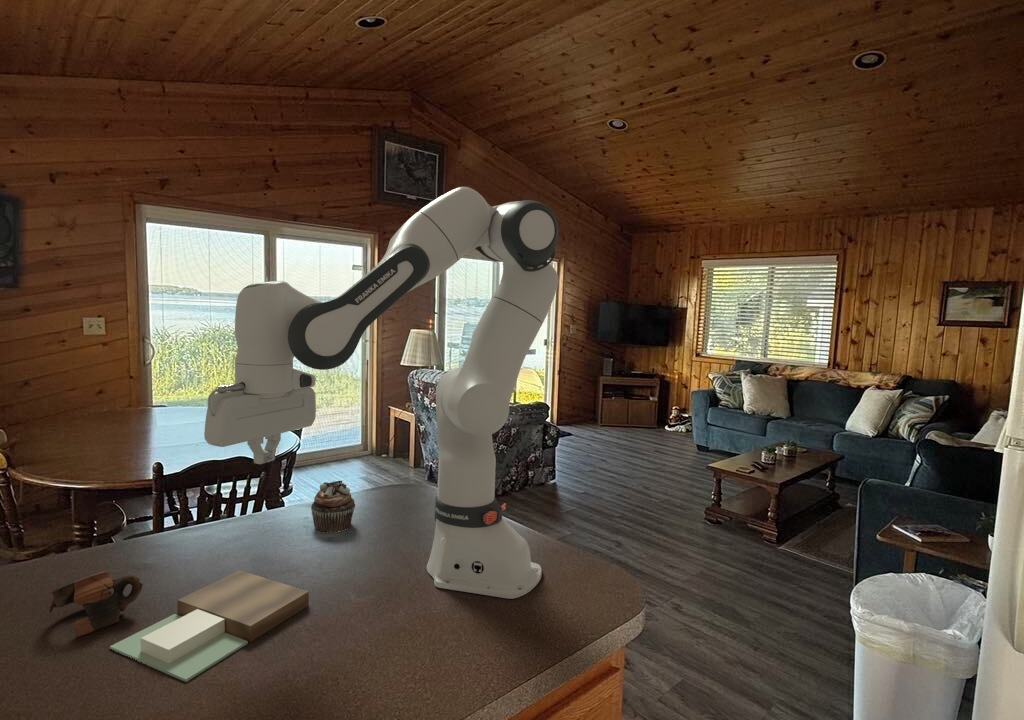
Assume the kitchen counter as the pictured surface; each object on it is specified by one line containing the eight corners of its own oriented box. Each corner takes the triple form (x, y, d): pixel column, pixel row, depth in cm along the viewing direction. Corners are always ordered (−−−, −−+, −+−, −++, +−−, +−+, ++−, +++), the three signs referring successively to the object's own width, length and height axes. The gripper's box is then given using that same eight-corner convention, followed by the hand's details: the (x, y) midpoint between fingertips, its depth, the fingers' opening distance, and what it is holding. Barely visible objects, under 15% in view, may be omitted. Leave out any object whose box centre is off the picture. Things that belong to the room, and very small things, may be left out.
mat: (247, 643, 86) (247, 641, 86) (186, 682, 77) (186, 679, 77) (174, 616, 93) (174, 613, 93) (109, 649, 84) (109, 646, 84)
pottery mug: (52, 649, 84) (37, 594, 85) (67, 644, 92) (53, 594, 93) (147, 608, 90) (131, 557, 92) (153, 607, 98) (139, 561, 100)
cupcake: (303, 524, 132) (303, 482, 132) (342, 515, 139) (343, 474, 138) (322, 538, 126) (322, 493, 125) (362, 527, 132) (363, 485, 131)
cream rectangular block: (197, 621, 91) (197, 609, 91) (224, 631, 89) (224, 619, 88) (140, 651, 83) (140, 638, 83) (169, 663, 80) (168, 649, 80)
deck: (308, 605, 98) (308, 591, 98) (250, 642, 87) (250, 626, 87) (239, 583, 104) (239, 570, 104) (177, 614, 93) (177, 600, 93)
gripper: (224, 389, 85) (224, 481, 86) (322, 375, 104) (321, 451, 105) (194, 384, 87) (194, 474, 89) (295, 372, 106) (294, 447, 107)
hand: (264, 462), depth 97 cm, fingers closed
